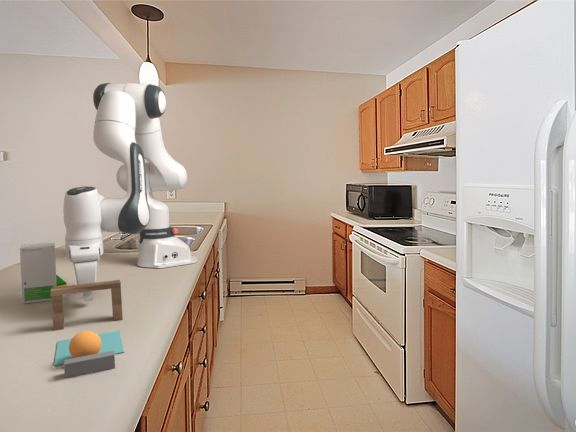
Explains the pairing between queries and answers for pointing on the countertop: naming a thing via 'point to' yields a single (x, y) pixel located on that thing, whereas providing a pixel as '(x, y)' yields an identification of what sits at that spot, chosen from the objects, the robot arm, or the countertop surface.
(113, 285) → the bridge
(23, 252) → the skincare box
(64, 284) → the dish sponge
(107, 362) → the stopper
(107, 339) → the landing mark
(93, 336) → the ball
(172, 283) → the countertop surface
